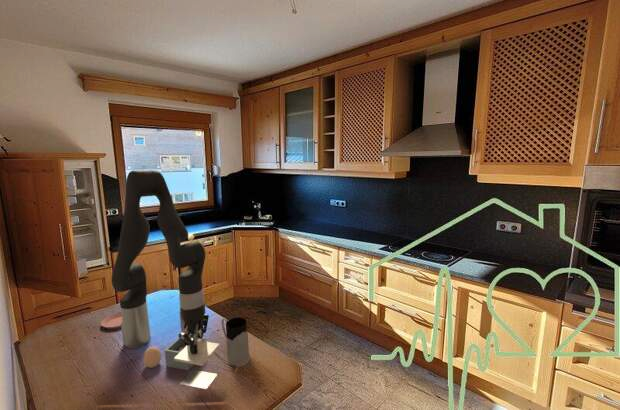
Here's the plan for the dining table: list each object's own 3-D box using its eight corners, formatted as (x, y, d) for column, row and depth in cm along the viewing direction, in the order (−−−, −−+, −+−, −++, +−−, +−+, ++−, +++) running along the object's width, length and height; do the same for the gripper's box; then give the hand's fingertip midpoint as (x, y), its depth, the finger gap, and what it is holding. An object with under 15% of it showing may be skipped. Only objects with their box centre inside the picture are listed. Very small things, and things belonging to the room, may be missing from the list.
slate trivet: (180, 385, 103) (180, 383, 103) (192, 371, 109) (192, 369, 109) (206, 390, 100) (206, 389, 100) (217, 375, 107) (217, 374, 107)
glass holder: (235, 370, 109) (232, 332, 107) (214, 353, 119) (211, 318, 116) (255, 358, 116) (253, 321, 113) (233, 343, 125) (231, 309, 122)
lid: (174, 360, 99) (172, 346, 98) (193, 341, 109) (192, 329, 108) (202, 365, 97) (201, 352, 96) (219, 346, 107) (219, 333, 106)
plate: (128, 311, 153) (128, 307, 152) (142, 320, 144) (142, 316, 144) (96, 324, 141) (95, 320, 141) (109, 334, 133) (108, 330, 133)
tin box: (166, 367, 111) (164, 350, 110) (182, 351, 120) (181, 335, 119) (188, 371, 109) (186, 354, 108) (203, 355, 118) (202, 338, 117)
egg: (145, 363, 114) (142, 345, 113) (162, 359, 116) (160, 341, 115) (143, 373, 109) (141, 354, 107) (161, 368, 111) (159, 349, 110)
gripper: (195, 292, 108) (199, 337, 110) (167, 312, 94) (173, 362, 97) (214, 294, 106) (217, 339, 109) (189, 314, 92) (194, 366, 95)
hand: (196, 350), depth 103 cm, fingers closed on lid, 2 cm apart
